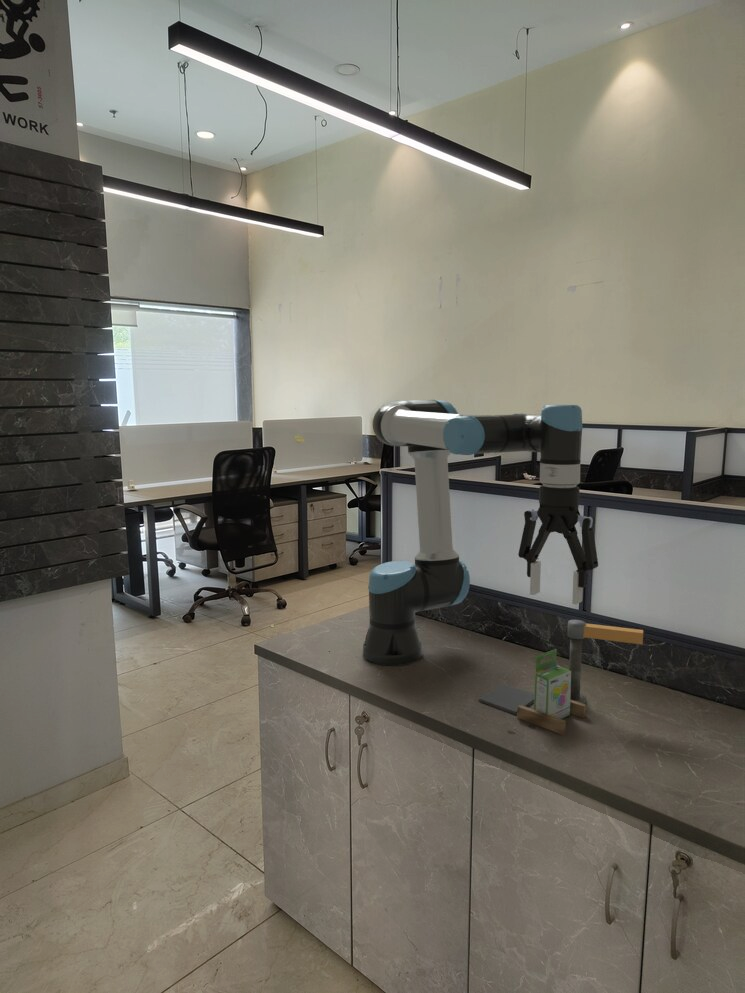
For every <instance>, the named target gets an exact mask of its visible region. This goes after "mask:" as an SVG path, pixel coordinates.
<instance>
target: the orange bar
mask: <svg viewBox="0 0 745 993" xmlns="http://www.w3.org/2000/svg"><path fill="white" fill-rule="evenodd" d="M567 637H568V638H573V639H582V640H583V639H585V638H587V639H588V638H589V639H595V640H604V641H610V642H611V641H612V642H618V643H628V644H636V645H643V644H644V629H636V628H630V627H621V626H613V625H612V626H611V625H602V624H595V623H594V624H593V623H587V622H585V621H584V620H580V619H570V620H568V621H567Z"/></svg>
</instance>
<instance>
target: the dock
mask: <svg viewBox="0 0 745 993" xmlns="http://www.w3.org/2000/svg"><path fill="white" fill-rule="evenodd" d="M569 638H570V637H569ZM582 650H583V639H573V638H570V639H569V663H568V665H569V667H568V670H570V671H571V694H570V715H574V716H577V717H579V718H583V719H584V718H585V717H586V716H587V704H586V703H587V697H586V696H585V695H583V694H582V693H581V674H582V655H583V654H582ZM516 715H517V719H519V720H521V721H524V722H527V723H530V724H533V725H535V726H538V727H541V728H544V729H546V730H548V731H552V732H553V733H554V732H555V733H557V734H560V735H562V736H563V735H565V734H566V729H567V728H566V726H567V723H566V722H567V721H566V720H565V719H563V718H562V719H559V718H556V717H553V716H550V715H548V714H545V713H542V712H539V711H536V710H534V708H531V707H529V706H527V707H525V706H522V705H519V706H518V713H517V714H516Z"/></svg>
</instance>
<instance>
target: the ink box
mask: <svg viewBox="0 0 745 993" xmlns="http://www.w3.org/2000/svg"><path fill="white" fill-rule="evenodd" d="M557 652H558V649H557V648H554V649H552V650H550V651H546V652H544V653H541V654H539V655H536V656H535V666H534V667H535V668H534V669H535V672H534V690H533V691H534V692H533V693H534V702H533V709H534V710H536V711H539V712H542V713H545V714H548V715H550V716H553V717H556V718H559V719H562V720H563V719H564V718H566V717H569V716H570V715H571V713H570V694H571V671H570V670H569V668H565V667H563V666H560V665H559V664H557ZM547 657H551V659H549V660H546V661H545V662H541V661H542V660H543V659H545V658H547Z"/></svg>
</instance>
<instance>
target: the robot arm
mask: <svg viewBox="0 0 745 993" xmlns="http://www.w3.org/2000/svg"><path fill="white" fill-rule="evenodd" d="M583 427H584V425H583V411H582V407H581V406H579V405H577V404H545V405H543V406H542V408H541V413H540V414H530V413H529V414H528V413H522V412H521V413H512V414H495V415H494V414H493V415H491V414H490V415H488V414H487V415H483V414H482V415H481V414H479V415H475V414H459V413H458V410H457V409H456V407H455V406H454V405H453V404H452V403H450V402H449V401H448V400H447V401H446V400H440V399H439V400H438V399H417V400H414V399H413V400H393V401H392V400H391V401H390V402H389V401H388V402H387V403H385V404H383V405H381V407H379V408H378V410H377V411H376V412H375V413H374V416H373V418H372V431H373V433H374V435H375V437H376V438H377V440H379V441H380V442H381V443H383V444H385V445H388V446H391V447H407V454H408V456H410V457H411V458H412V459H413V461H414V472H415V493H416V508H417V524H418V540H419V542H418V543H419V551H418V553H417V554H416V555H415V556H414V563H413V562H411V561H407V560H398V561H397V560H393V561H387V562H384V563H381V564H379V565H377V566H375V567H374V568H372V570H371V571H370V573H369V577H368V578H369V579H368V588H367V590H368V605H369V607H368V608H369V611H368V613H369V625H368V629H367V631H366V635H365V640H364V642H363V645H362V656H363V658H364V659H365V660H367V661H369V662H370V663H374V664H377V665H382V666H403V665H404V666H405V665H408V664H412V663H414V662H417V661H418V660H420V658H422V656H423V655H422V654H423V645H422V643H421V641H420V638H419V634H418V630H417V627H416V613H417V612H422V611H428V610H429V611H430V610H434V609H439V608H448V607H451V606H454V605H459V604H461V603H462V602H463V601H464V599H466V597H467V595H468V593H469V590H470V583H471V577H470V572H469V570H468V567H467V565H466V563H465V562H463V560H460V555H459V553H457V552H456V551H455V549H453V548H454V547H453V532H452V531H453V530H452V528H453V527H452V516H451V513H452V512H451V498H450V496H451V494H450V479H449V478H450V477H449V464H448V463H449V462H448V461H449V460H448V457H449V456H450V455H451V454H453V455H461V456H472V455H478V454H480V455H481V454H491V453H493V454H494V453H495V454H497V453H517V452H529V453H530V452H532V453H540V458H539V482H540V484H542V485H540V486H539V487H538V488H539V490H538V504H539V507H538V509H537V510H536V509H529V510H526V511H524V514H523V516H524V527H523V531H522V536H521V540H520V544H519V549H518V550H519V551H518V554H517V555H518V557H519V558H521V559H524V560H525V561H526V576H527V577H528V578H530V582H529V584H530V585H529V586H530V587H529V595H531V596H535V595H537V594H539V593H541V570H542V569H541V566H542V562H541V561H540V560H539V556H540V553H541V552H542V550H543V548H544V546H545V544H546V542H547V541H548V538H549V536H550V534H551V533H558V534H561V535H562V536H563V538H564V539H565V540H566V543H567V545H568V547H569V551H570V552H571V555H572V558H573V561H574V564H575V566H576V568H577V569H575V570H573V577H572V579H573V580H572V605H578V604H579V603H582V602H583V596H584V595H583V591H584V590H583V589H584V588H586V587H587V585H588V579H589V578H588V577H589V576H588V575H589V574H588V573H589V571H592V570H594V569H596V568H598V567H599V561H598V554H597V553H598V552H597V547H596V546H597V545H596V542H595V534H594V533H595V532H594V525H595V521H596V520H595V518H594V516H585V515H581V513H580V511H579V505H580V487H579V486H578V485H579V484H580V483H581V461H582V460H581V456H582V436H583V429H584V428H583ZM538 519H539V520H540V522H541V526H540V528H539V529H538V534H537V536H536V537H535V540H534V542H533V539H534V534H535V530H536V525H537V520H538ZM577 523H579V527H580V528H581V538H582V544H581V542H580V538H579V536H578V531H577V528H576V525H577ZM582 545H583V546H582Z"/></svg>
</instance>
